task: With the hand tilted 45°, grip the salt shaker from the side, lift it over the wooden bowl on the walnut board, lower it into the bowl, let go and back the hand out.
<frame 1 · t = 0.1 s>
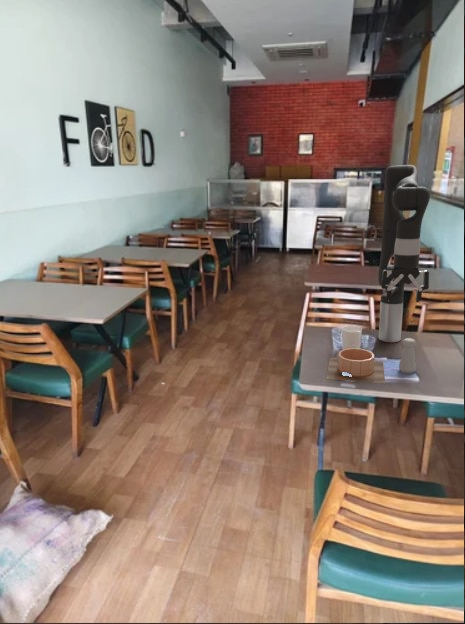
hand: (403, 301, 141), 29 cm above the table, tool pointing down, fingers open, 8 cm apart
salt shaker: (406, 373, 156), on the table
white cup: (351, 352, 178), on the table
walnut board: (355, 371, 159), on the table
wooden bowl: (355, 369, 159), resting on walnut board
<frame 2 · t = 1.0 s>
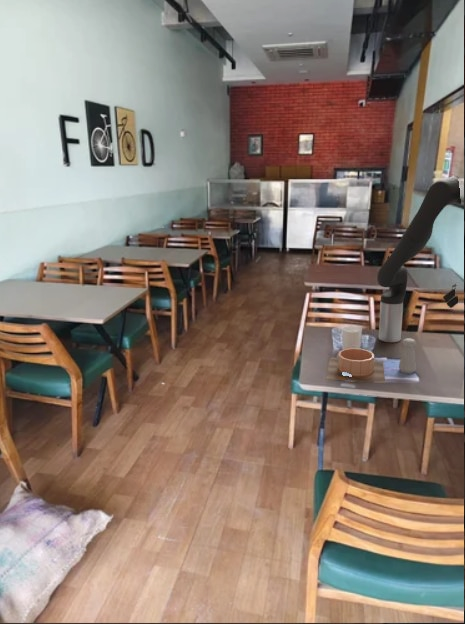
hand: (446, 302, 145), 27 cm above the table, tool tilted 45°, fingers open, 8 cm apart
nothing on the table moved.
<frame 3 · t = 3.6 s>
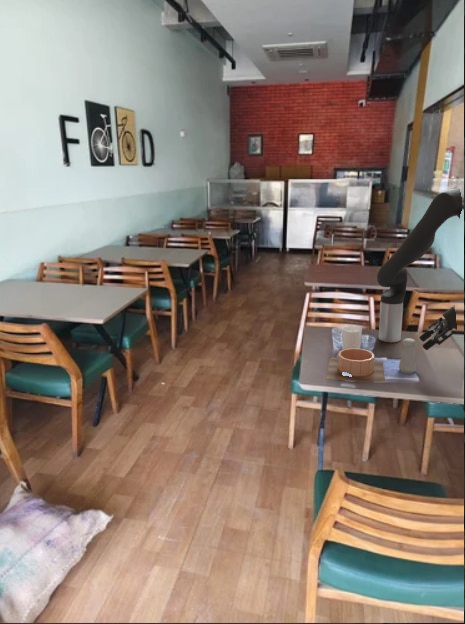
hand: (422, 343, 151), 12 cm above the table, tool tilted 45°, fingers open, 8 cm apart
nothing on the table moved.
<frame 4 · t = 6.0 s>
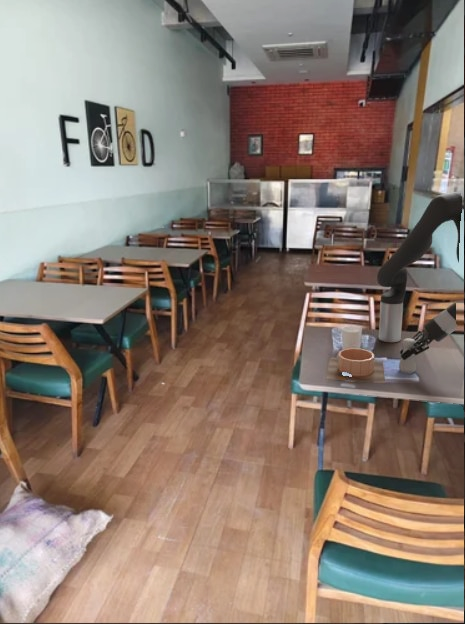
hand: (402, 355, 155), 6 cm above the table, tool tilted 45°, fingers closed on salt shaker, 3 cm apart
salt shaker: (406, 373, 156), on the table, touching gripper
everything else where it was.
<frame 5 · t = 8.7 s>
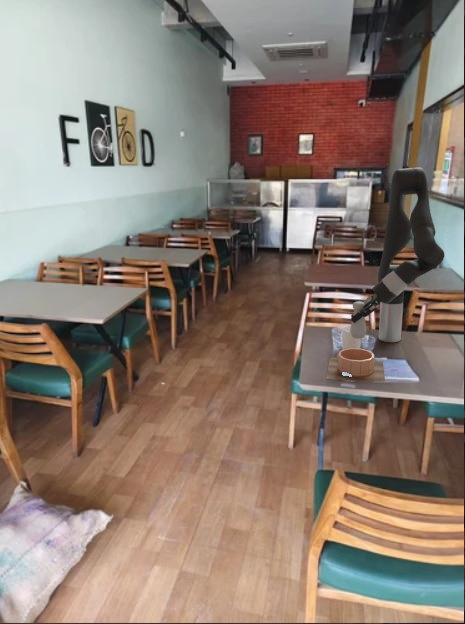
hand: (352, 319, 154), 20 cm above the table, tool tilted 45°, fingers closed on salt shaker, 3 cm apart
salt shaker: (358, 337, 155), point 14 cm above the table, touching gripper
everything else where it was.
when the fingers open (10 cm above the table, at t = 11.5 s): salt shaker drops 1 cm, resting on wooden bowl.
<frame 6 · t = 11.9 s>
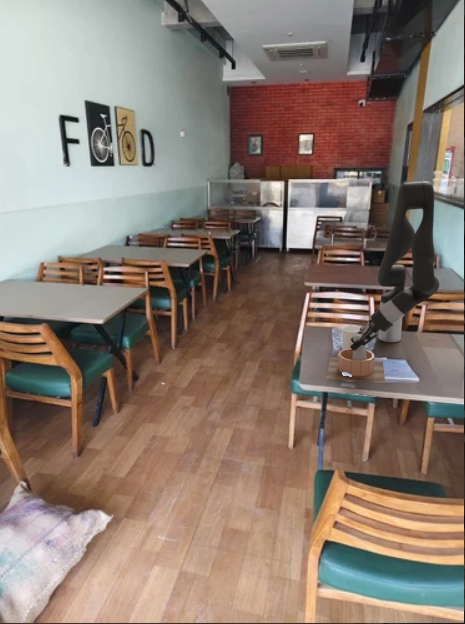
hand: (352, 345, 157), 10 cm above the table, tool tilted 45°, fingers open, 7 cm apart
salt shaker: (359, 369, 156), point 2 cm above the table, touching gripper, wooden bowl
everything else where it was.
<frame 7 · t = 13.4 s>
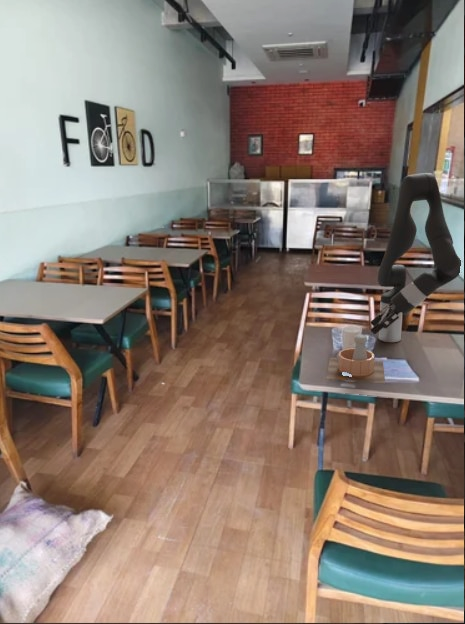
hand: (372, 328, 153), 17 cm above the table, tool tilted 45°, fingers open, 8 cm apart
salt shaker: (359, 370, 156), point 2 cm above the table, touching wooden bowl
everything else where it was.
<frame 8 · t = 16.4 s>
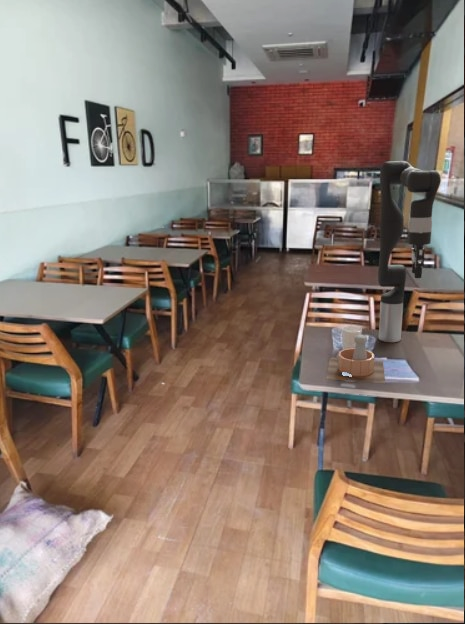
hand: (416, 275, 155), 34 cm above the table, tool pointing down, fingers open, 8 cm apart
nothing on the table moved.
at the end: salt shaker inside the target area on the wooden bowl (2.6 cm from its centre), point 0.8 cm above the wooden bowl's base; the gripper is holding nothing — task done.
